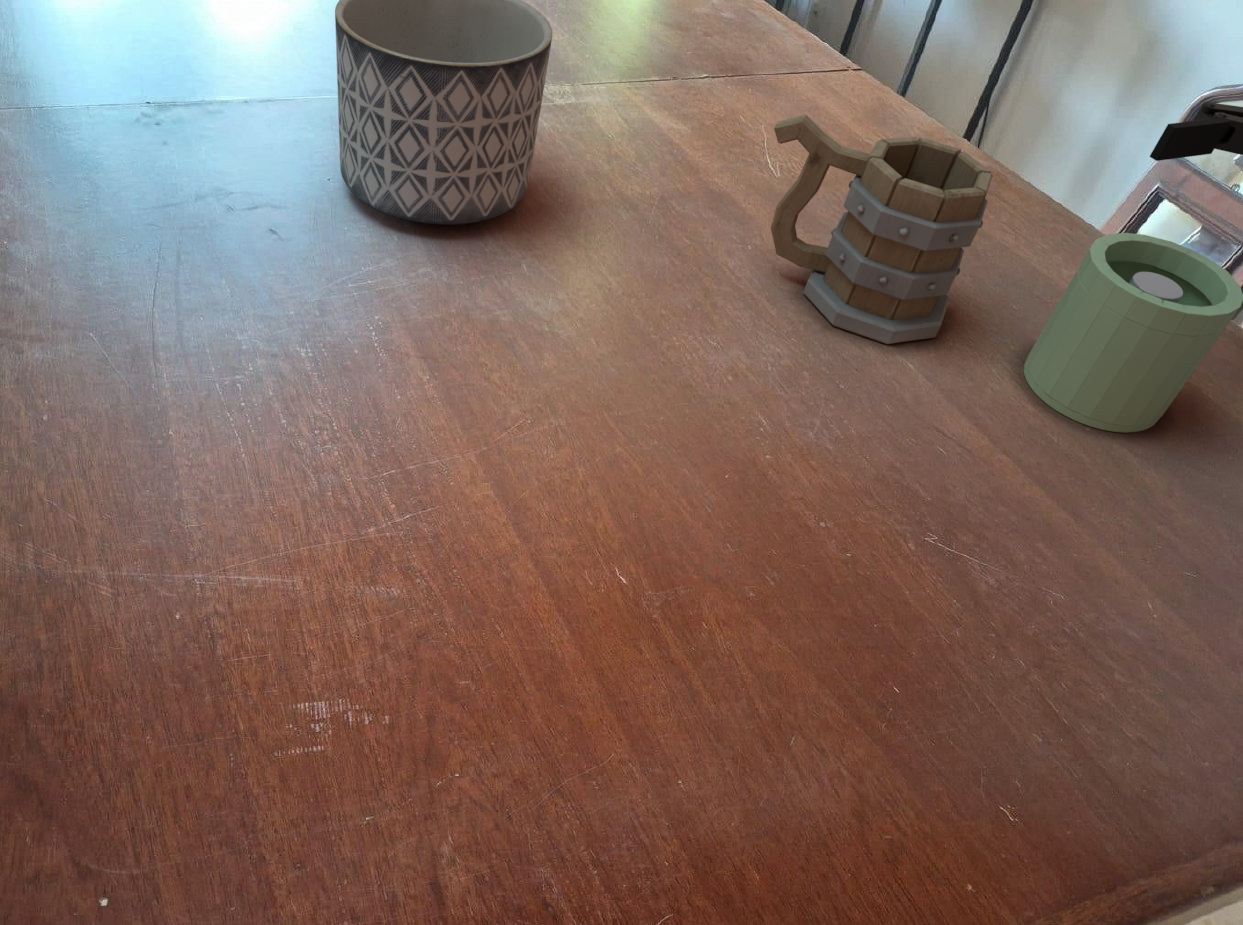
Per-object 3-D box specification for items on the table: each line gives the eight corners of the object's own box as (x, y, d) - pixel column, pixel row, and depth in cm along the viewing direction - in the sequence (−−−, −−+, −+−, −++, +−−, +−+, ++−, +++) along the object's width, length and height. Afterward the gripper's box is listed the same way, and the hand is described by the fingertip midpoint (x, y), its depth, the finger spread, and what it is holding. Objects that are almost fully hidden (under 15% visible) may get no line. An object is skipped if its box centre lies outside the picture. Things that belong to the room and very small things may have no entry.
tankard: (948, 293, 103) (1019, 146, 92) (928, 359, 95) (1002, 206, 84) (754, 230, 107) (799, 82, 97) (717, 287, 99) (763, 133, 88)
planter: (500, 261, 98) (521, 83, 86) (305, 212, 100) (300, 32, 88) (549, 170, 111) (573, 5, 99) (376, 129, 113) (379, -37, 101)
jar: (1127, 355, 99) (1202, 240, 91) (1183, 438, 91) (1271, 321, 82) (1005, 342, 98) (1069, 226, 90) (1050, 426, 90) (1125, 306, 81)
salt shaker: (1109, 369, 96) (1171, 272, 89) (1129, 399, 93) (1195, 302, 85) (1063, 364, 95) (1122, 267, 88) (1081, 394, 92) (1143, 297, 85)
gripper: (1512, 279, 83) (1341, 318, 75) (1251, 133, 98) (1086, 153, 90) (1594, 190, 77) (1418, 223, 70) (1304, 50, 92) (1133, 64, 85)
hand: (1230, 184), depth 80 cm, fingers open, 13 cm apart
